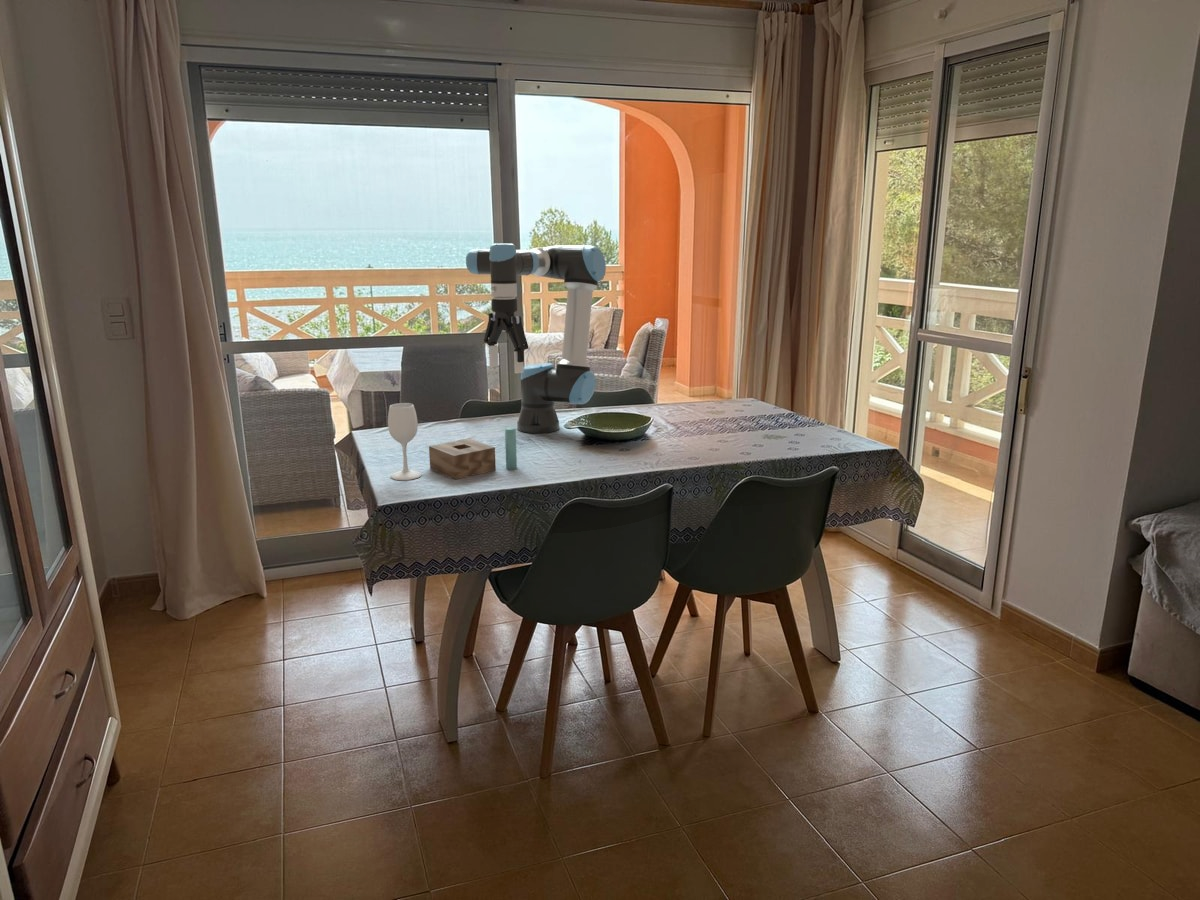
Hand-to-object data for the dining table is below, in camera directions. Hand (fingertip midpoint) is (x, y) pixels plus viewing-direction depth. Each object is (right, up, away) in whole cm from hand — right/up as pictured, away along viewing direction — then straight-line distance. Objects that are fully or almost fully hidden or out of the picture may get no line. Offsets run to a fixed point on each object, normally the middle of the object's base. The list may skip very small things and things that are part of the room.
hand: (506, 370), depth 240 cm
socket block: (-13, -30, -1) cm, 32 cm away
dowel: (+1, -29, +1) cm, 29 cm away
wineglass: (-28, -32, -8) cm, 43 cm away
